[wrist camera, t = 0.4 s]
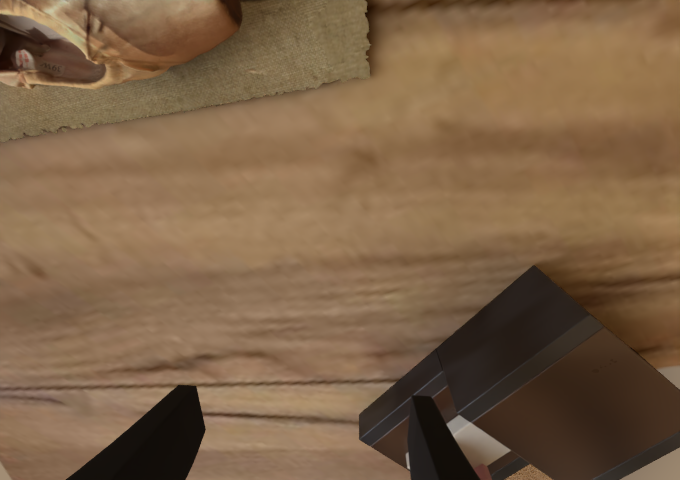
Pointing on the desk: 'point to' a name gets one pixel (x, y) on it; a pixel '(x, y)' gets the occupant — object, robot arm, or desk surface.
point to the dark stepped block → (539, 390)
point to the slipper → (475, 446)
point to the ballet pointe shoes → (166, 56)
